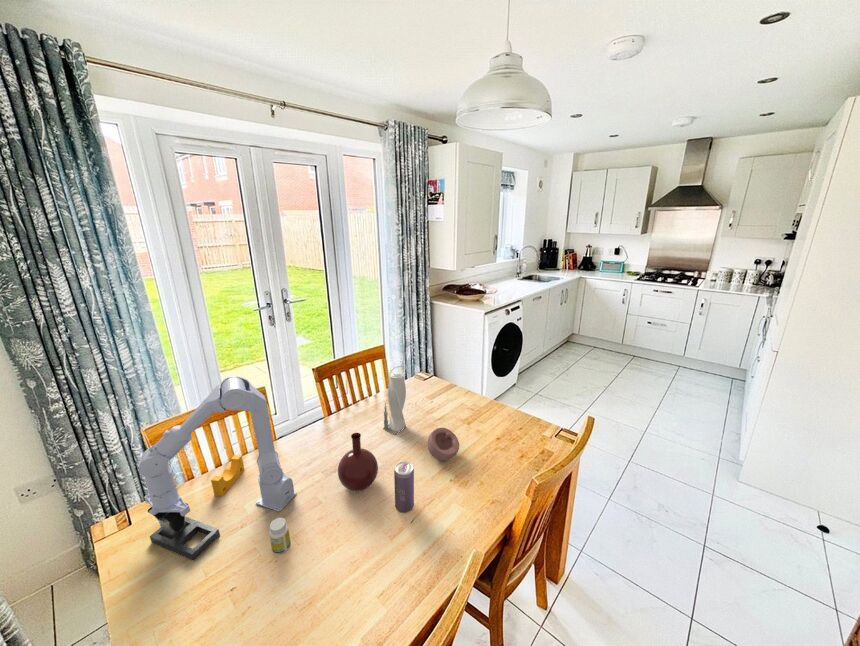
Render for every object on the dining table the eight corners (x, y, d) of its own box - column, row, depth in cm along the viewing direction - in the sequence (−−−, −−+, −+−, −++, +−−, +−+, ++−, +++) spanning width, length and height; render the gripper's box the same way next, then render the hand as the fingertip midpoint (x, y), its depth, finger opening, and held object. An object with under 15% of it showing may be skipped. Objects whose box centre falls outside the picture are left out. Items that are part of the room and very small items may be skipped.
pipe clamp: (233, 469, 124) (230, 454, 122) (244, 470, 123) (241, 455, 121) (209, 495, 113) (205, 479, 110) (221, 496, 112) (218, 480, 110)
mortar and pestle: (446, 473, 123) (447, 446, 120) (420, 458, 130) (421, 433, 126) (464, 455, 132) (465, 429, 129) (439, 442, 139) (440, 418, 136)
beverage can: (416, 501, 111) (416, 463, 106) (409, 516, 106) (409, 477, 101) (399, 496, 113) (399, 459, 108) (391, 511, 108) (390, 472, 103)
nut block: (187, 528, 100) (182, 512, 98) (173, 540, 96) (168, 523, 94) (177, 524, 101) (172, 508, 99) (163, 535, 97) (158, 519, 95)
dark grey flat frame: (220, 535, 99) (218, 529, 98) (193, 561, 92) (192, 554, 91) (179, 519, 103) (177, 513, 103) (151, 542, 96) (149, 536, 96)
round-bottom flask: (359, 465, 126) (356, 419, 120) (386, 481, 119) (384, 433, 113) (331, 488, 116) (326, 438, 110) (358, 507, 109) (354, 455, 102)
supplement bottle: (285, 535, 99) (281, 513, 96) (294, 545, 96) (290, 522, 93) (269, 547, 95) (264, 524, 93) (277, 558, 93) (273, 534, 90)
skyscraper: (396, 419, 154) (395, 362, 145) (410, 426, 149) (410, 368, 140) (383, 429, 147) (381, 369, 138) (397, 436, 143) (396, 375, 134)
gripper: (127, 492, 92) (140, 530, 96) (166, 507, 88) (178, 546, 92) (155, 474, 98) (166, 510, 103) (192, 487, 94) (202, 524, 98)
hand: (173, 526), depth 98 cm, fingers closed on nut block, 4 cm apart
